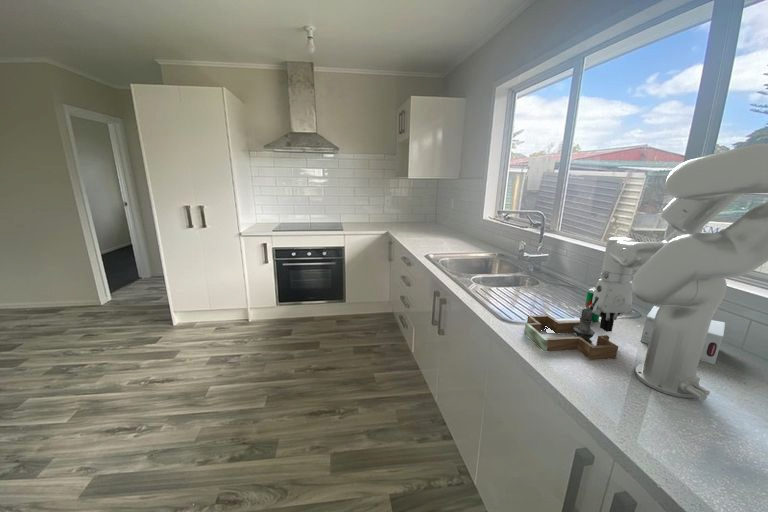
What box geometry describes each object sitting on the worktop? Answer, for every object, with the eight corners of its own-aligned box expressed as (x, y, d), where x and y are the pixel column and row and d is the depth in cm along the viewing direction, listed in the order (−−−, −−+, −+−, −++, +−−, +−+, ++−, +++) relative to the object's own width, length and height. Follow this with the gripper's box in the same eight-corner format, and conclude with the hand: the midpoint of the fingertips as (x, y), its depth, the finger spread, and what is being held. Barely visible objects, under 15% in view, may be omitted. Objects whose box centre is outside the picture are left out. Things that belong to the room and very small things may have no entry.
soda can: (601, 322, 111) (607, 291, 108) (588, 322, 112) (593, 291, 109) (592, 316, 116) (598, 287, 113) (579, 316, 116) (584, 287, 114)
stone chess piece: (595, 346, 96) (602, 311, 93) (574, 342, 97) (580, 308, 95) (590, 337, 101) (596, 303, 98) (570, 334, 103) (575, 301, 100)
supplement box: (639, 342, 98) (645, 315, 96) (647, 329, 106) (653, 304, 104) (715, 365, 86) (724, 335, 83) (718, 349, 94) (726, 321, 92)
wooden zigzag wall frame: (622, 358, 89) (624, 346, 88) (554, 362, 87) (556, 349, 86) (571, 324, 110) (572, 314, 109) (516, 326, 108) (517, 316, 107)
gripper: (602, 281, 90) (592, 336, 95) (648, 279, 92) (636, 334, 96) (584, 273, 98) (576, 325, 102) (627, 272, 99) (617, 323, 103)
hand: (605, 329), depth 99 cm, fingers closed
